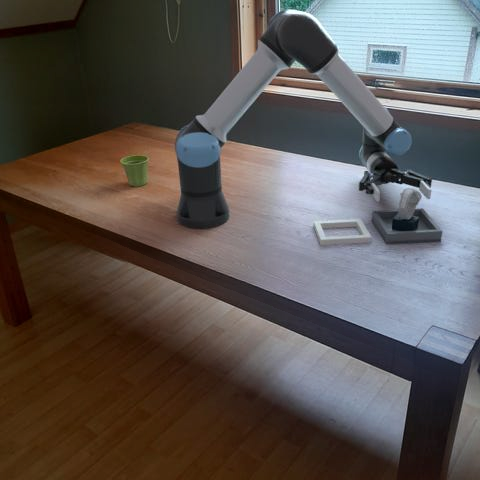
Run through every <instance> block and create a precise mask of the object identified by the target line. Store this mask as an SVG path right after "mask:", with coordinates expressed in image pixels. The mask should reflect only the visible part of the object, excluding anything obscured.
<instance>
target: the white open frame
mask: <svg viewBox="0 0 480 480" xmlns="http://www.w3.org/2000/svg"><path fill="white" fill-rule="evenodd" d="M350 227H351V228H353V227H356V229H357V230H358V232H359V235H357V234H356V235H336V236H335V235H334V236H326V234H325V232H324V230H323V229H335V228H350ZM313 229H314V230H315V234H316V237H317V239H318V242H319V244H320V246H327V245H329V246H330V245H346V244H347V245H348V244H364V243H372V236H371V234H370V232H369V230H368V229H367V226H366V225H365V223H364V221H363V220H362V218H353V219H352V218H350V219H332V220H330V219H329V220H314V221H313Z"/></svg>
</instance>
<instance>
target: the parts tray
mask: <svg viewBox="0 0 480 480" xmlns="http://www.w3.org/2000/svg"><path fill="white" fill-rule="evenodd" d="M371 213H372V214H371V222H372V224H373V225H374V227H375V228H376V230H377V232H378V233H379V235H380V237H381V238H382V240H383V242H384V243H385V245H400V244H419V243H423V244H424V243H436V242H437V243H439V242H440V243H441V242H442V236H443V230H442V229H441V228H440V226H439V225H438V224H437V223H436V222H435V221H434V220H433V218H432V217H431V216H430V215H429V214H428V212H427V211H426V210H424V208H415V211H414V213H413V215H412V216H417V217H419V222H418V228H417V229H416V230H415V231H398V230H394V229H392V222H393V218H394V217H395V216H396V215H397V214H398V209H389V210H387V209H385V210H384V209H383V210H372V212H371Z"/></svg>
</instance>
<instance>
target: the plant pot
mask: <svg viewBox="0 0 480 480" xmlns="http://www.w3.org/2000/svg"><path fill="white" fill-rule="evenodd" d="M149 158H150V157H148V156H147V155H143V154H134V155H128V156H126V157H122V158H121V159H120V161H119V162H120V164H122V167H123V170H124V171H125V175H126V178H127V183H128V185H129V186H130V187H133V186H134V187H138V188H139V187H142V186H144V185H146V184H147V183H148V164H149V160H150V159H149Z"/></svg>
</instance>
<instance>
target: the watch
mask: <svg viewBox="0 0 480 480" xmlns="http://www.w3.org/2000/svg"><path fill="white" fill-rule="evenodd" d="M422 196H423V194H422V193H421V191H420V190H417V189H415V188H412V187H408V188H404V190H402V192H401V193H400V198H399V199H400V200H399V203H398V208H397V210H398V214H397V215H396V216H395V217H394V218H393V222H392V229H394V230H398V231H415V230H416V229H417V228H418V222H419V217H417V216H412V215H413V213H414V211H415V209H417V208H416V207H417V206H418V205H419V203H420V201H421V200H422Z"/></svg>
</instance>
